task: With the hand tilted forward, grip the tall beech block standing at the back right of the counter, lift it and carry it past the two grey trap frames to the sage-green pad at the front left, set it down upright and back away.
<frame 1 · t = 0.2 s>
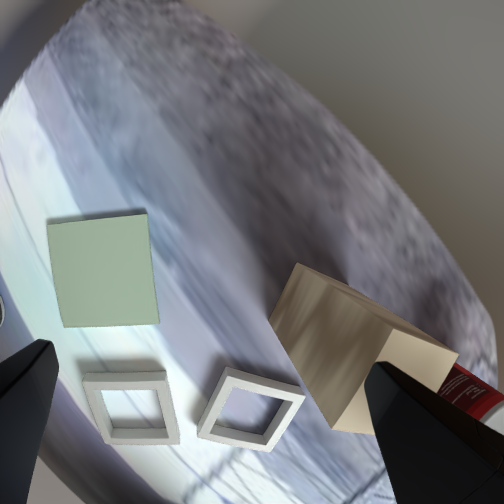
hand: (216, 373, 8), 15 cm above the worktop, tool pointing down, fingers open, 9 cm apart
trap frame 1: (248, 408, 25), on the worktop
block: (309, 303, 25), on the worktop
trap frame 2: (134, 405, 24), on the worktop
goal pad: (101, 273, 22), on the worktop
canned food: (427, 385, 29), on the worktop
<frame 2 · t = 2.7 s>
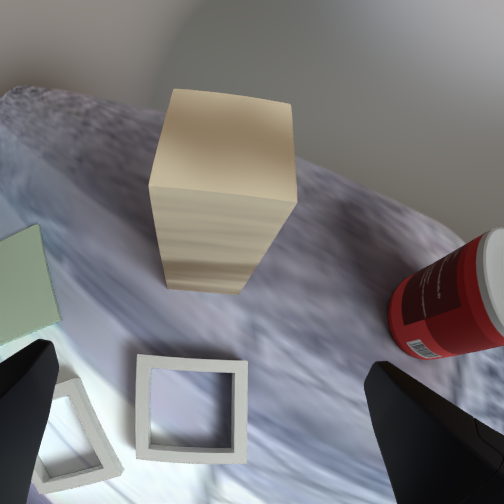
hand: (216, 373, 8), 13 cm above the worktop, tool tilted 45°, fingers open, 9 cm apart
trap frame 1: (190, 409, 19), on the worktop
block: (205, 258, 23), on the worktop
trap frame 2: (61, 437, 16), on the worktop
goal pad: (8, 288, 19), on the worktop
canned food: (418, 318, 25), on the worktop
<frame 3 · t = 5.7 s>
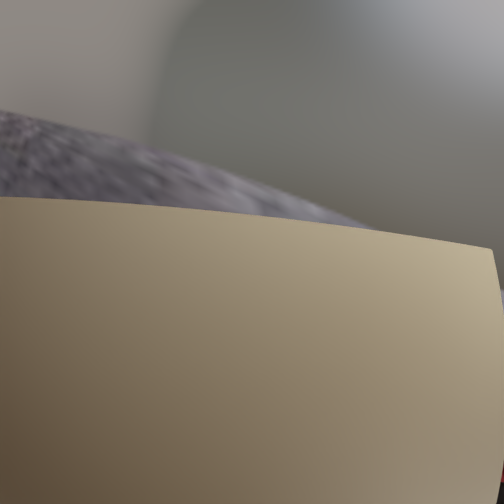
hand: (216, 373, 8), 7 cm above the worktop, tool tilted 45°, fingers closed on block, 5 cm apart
block: (202, 403, 13), on the worktop, touching gripper
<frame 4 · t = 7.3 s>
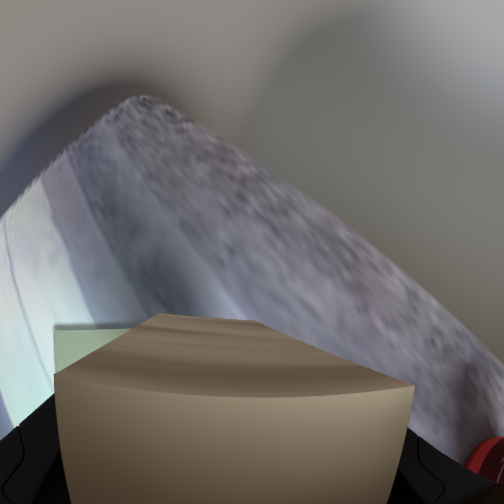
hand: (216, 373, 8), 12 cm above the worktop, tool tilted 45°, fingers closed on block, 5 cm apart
block: (203, 363, 16), point 4 cm above the worktop, tilted 14°, touching gripper
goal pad: (115, 390, 17), on the worktop
canned food: (480, 470, 19), on the worktop
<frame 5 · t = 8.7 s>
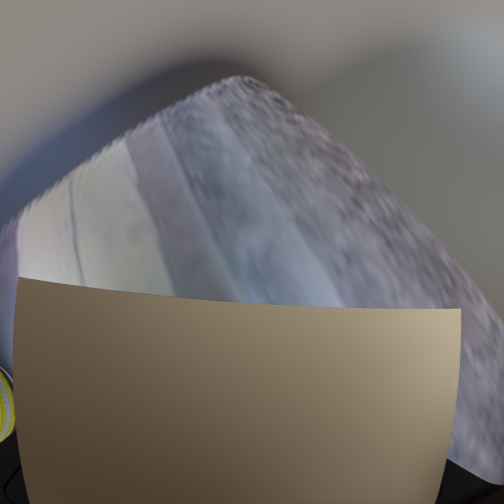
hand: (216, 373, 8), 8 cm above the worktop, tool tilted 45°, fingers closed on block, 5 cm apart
block: (203, 371, 15), point 1 cm above the worktop, tilted 9°, touching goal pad, gripper
when the fingers open (8 cm above the worktop, at t = 8.9 s): block stays where it is, resting on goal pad.
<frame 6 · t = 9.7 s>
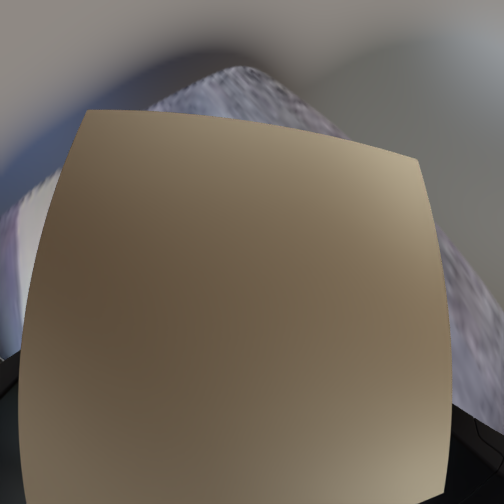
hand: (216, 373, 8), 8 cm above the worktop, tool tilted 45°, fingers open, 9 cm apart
block: (203, 358, 15), resting on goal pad
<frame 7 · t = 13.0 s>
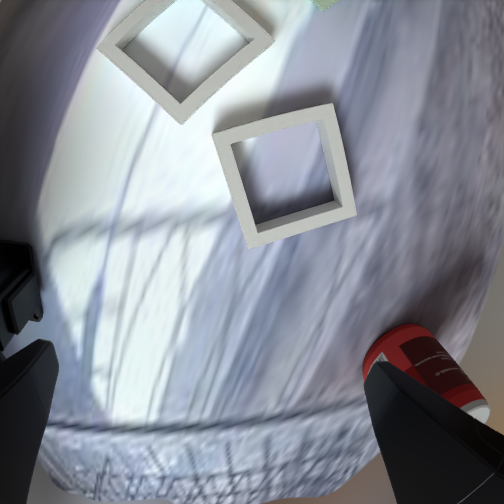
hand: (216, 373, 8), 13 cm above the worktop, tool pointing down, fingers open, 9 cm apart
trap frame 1: (284, 171, 19), on the worktop
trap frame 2: (185, 44, 15), on the worktop
canned food: (394, 353, 27), on the worktop
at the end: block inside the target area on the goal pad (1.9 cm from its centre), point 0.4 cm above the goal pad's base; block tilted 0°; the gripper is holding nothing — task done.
